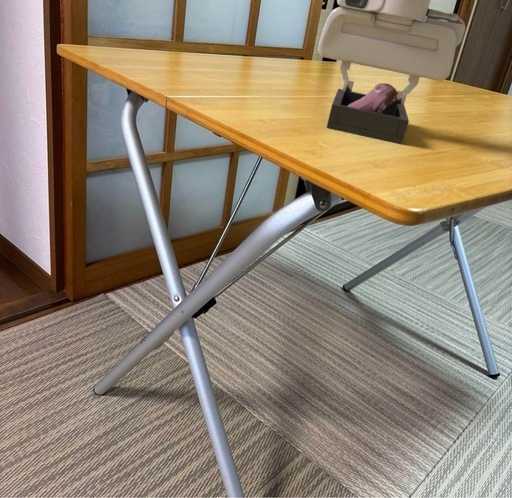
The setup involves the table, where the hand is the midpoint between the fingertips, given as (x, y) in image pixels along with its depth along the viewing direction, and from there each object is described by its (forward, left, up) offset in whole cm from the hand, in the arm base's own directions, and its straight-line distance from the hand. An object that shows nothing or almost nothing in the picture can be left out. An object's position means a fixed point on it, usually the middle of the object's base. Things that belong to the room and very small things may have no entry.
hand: (372, 98), depth 81 cm
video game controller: (0, 0, -3) cm, 3 cm away
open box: (0, 0, -4) cm, 4 cm away
